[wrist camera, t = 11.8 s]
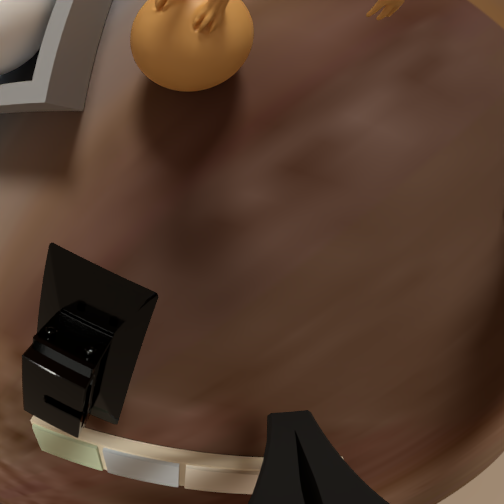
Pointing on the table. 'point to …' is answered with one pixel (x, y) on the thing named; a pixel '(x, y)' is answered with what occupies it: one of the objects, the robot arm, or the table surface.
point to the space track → (151, 460)
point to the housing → (61, 60)
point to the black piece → (83, 342)
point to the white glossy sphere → (22, 30)
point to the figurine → (199, 40)
